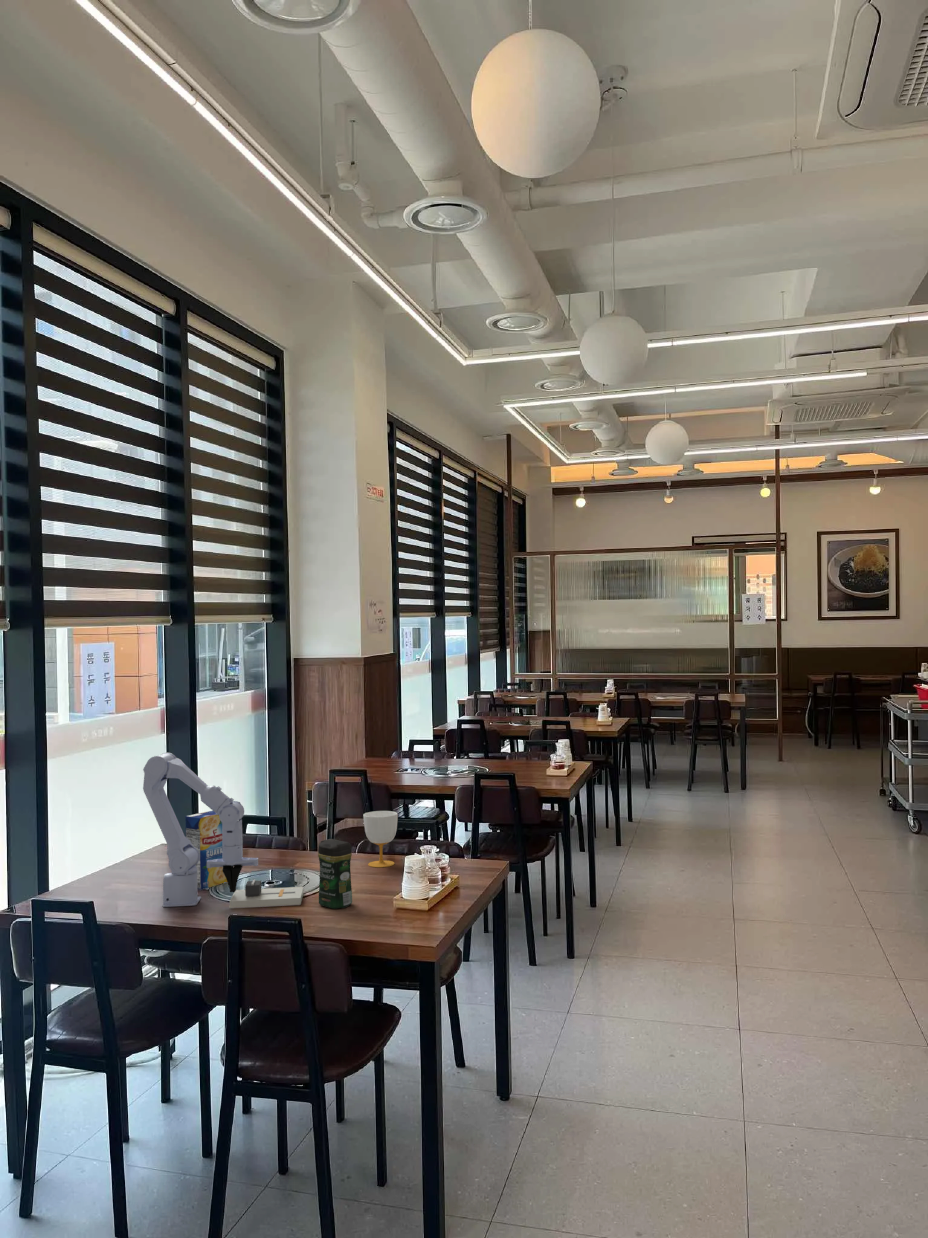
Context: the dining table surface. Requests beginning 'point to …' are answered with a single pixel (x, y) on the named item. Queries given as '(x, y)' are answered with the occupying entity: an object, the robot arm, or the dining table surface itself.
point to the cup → (380, 832)
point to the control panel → (268, 898)
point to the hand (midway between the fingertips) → (232, 891)
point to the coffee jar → (335, 874)
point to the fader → (253, 888)
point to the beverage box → (206, 846)
